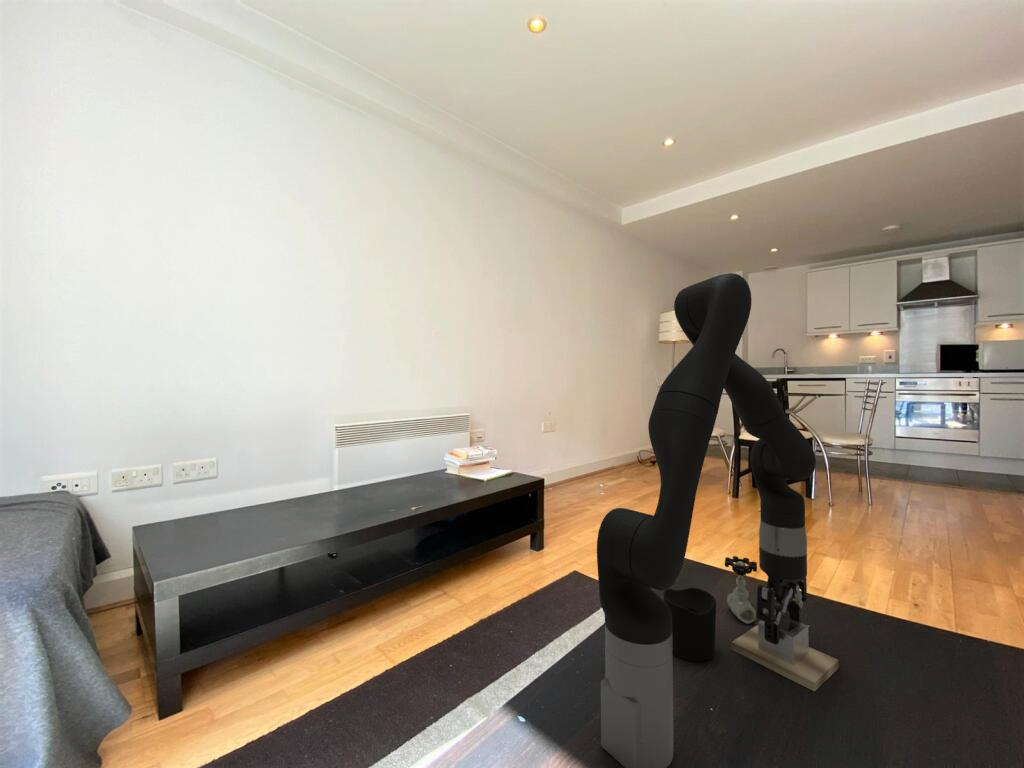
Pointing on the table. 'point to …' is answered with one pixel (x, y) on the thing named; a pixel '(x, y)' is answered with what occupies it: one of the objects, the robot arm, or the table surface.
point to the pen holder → (692, 623)
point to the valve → (741, 589)
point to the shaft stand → (804, 672)
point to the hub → (786, 642)
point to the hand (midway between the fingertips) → (783, 634)
